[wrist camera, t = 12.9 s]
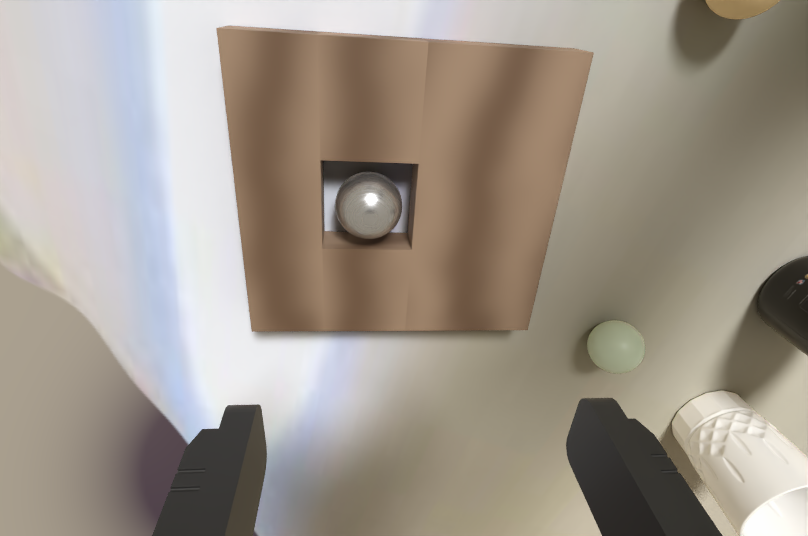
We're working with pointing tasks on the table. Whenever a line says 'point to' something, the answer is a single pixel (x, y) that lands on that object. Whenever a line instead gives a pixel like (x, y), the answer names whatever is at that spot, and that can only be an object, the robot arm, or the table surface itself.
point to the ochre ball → (740, 7)
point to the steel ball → (368, 205)
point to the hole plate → (397, 143)
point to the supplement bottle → (787, 303)
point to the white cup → (745, 465)
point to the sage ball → (616, 346)
